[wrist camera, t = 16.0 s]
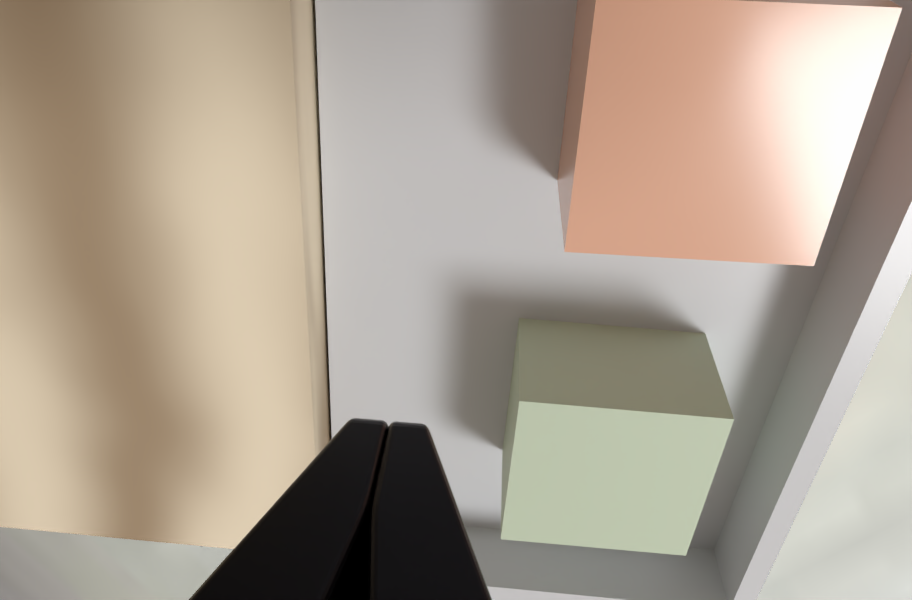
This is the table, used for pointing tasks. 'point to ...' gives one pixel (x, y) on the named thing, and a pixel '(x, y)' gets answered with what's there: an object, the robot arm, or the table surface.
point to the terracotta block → (714, 124)
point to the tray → (574, 281)
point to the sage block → (610, 436)
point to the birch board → (159, 265)
